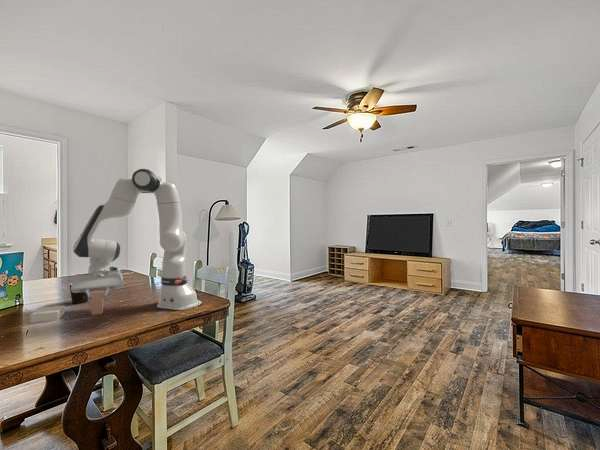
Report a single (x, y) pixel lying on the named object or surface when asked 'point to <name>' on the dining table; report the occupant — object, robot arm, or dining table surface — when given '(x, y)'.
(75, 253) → the robot arm
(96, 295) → the tan rectangular block
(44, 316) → the cream block
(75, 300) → the coffee mug
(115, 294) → the dining table surface
